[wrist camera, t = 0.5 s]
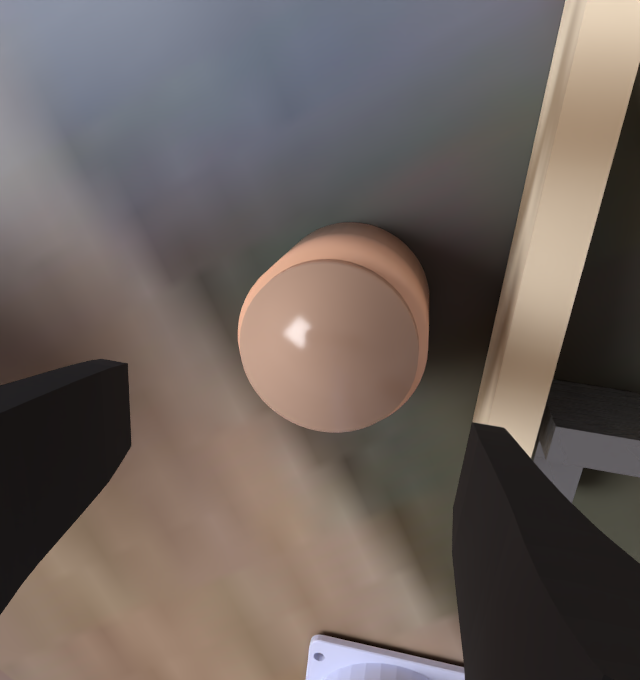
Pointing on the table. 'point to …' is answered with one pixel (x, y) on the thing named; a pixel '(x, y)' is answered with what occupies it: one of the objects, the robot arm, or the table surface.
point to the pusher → (587, 433)
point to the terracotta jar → (337, 328)
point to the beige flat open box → (559, 209)
